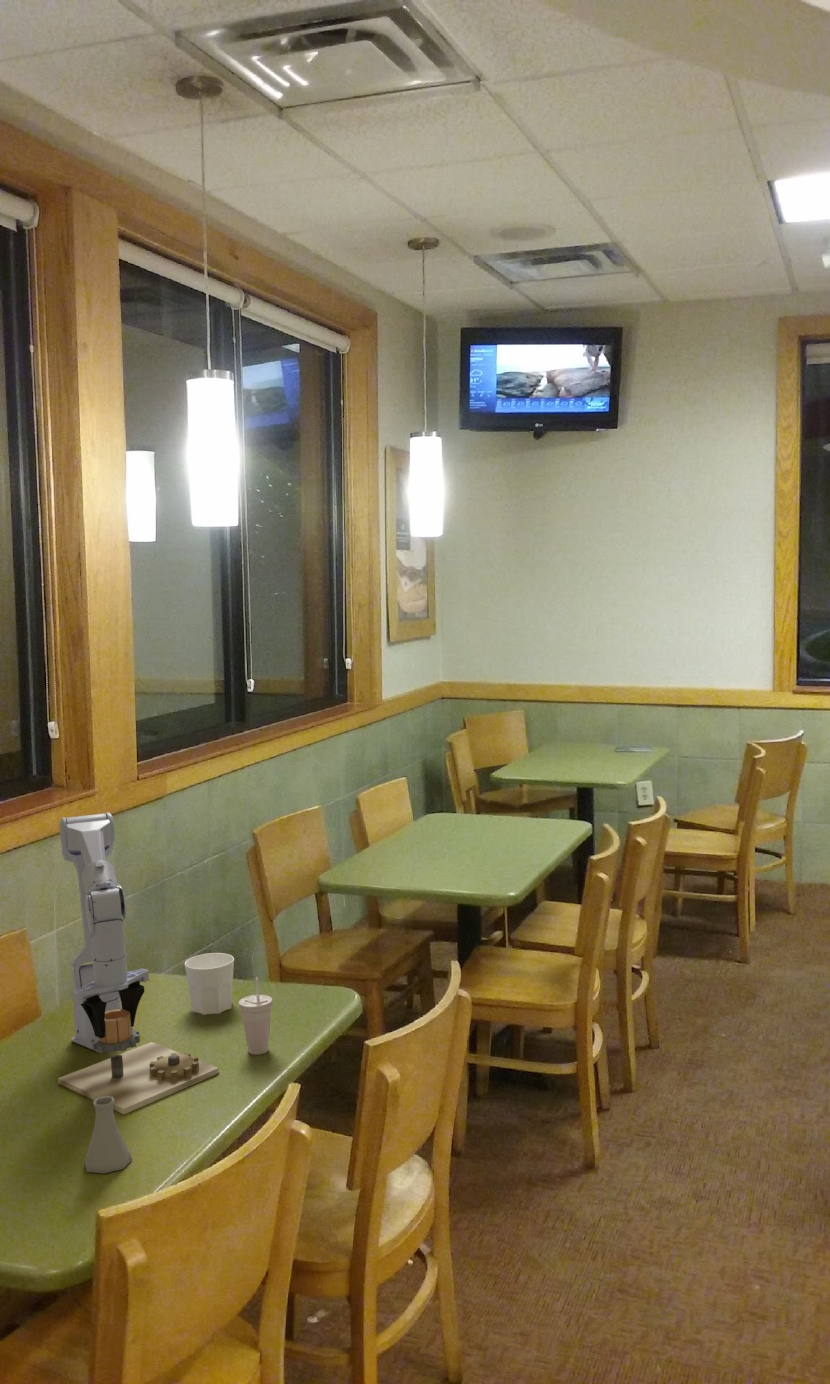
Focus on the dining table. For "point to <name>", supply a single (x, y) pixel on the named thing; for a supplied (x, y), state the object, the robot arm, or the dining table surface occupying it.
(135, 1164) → the dining table surface
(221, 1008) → the cup
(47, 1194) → the dining table surface
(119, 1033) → the planet gear
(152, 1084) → the carrier
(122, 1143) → the flask
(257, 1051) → the smoothie
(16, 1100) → the dining table surface
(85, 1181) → the dining table surface
